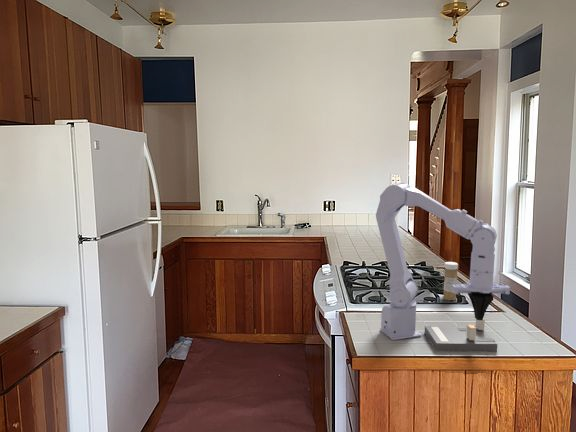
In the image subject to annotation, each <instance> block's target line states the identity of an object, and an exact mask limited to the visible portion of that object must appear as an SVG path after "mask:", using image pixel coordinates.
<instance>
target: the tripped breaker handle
mask: <svg viewBox="0 0 576 432" xmlns="http://www.w3.org/2000/svg"><path fill="white" fill-rule="evenodd" d="M466 326H467V338H468V339H469V340H475V339H476V328H475V327H474V326H475V325H474V324H466Z"/></svg>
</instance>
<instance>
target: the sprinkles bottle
mask: <svg viewBox="0 0 576 432" xmlns="http://www.w3.org/2000/svg"><path fill="white" fill-rule="evenodd" d="M458 269H459V264H458V263H457V262H455V261H445V262H444V280H443V295H442V299H444V300H445V301H450V300H453V301H456V300H457V294H454V293H453V292H452V285H458ZM455 299H456V300H455Z"/></svg>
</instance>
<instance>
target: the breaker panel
mask: <svg viewBox="0 0 576 432" xmlns="http://www.w3.org/2000/svg"><path fill="white" fill-rule="evenodd" d="M473 326H474V327H475V328H476V325H473ZM424 335H425V336H426V337H427V339H428V341H429V342H430V344H431V345H432V347H433V348H434V350H435V351H436V352H479V353H481V352H483V353H484V352H489V353H491V352H492V353H493V352H496V353H497V352H498V343H497V341H495V339H494V338H492V337H491V336H490V335H489V334H488V333H487V332H486V331H485V329H484V330H478V329H477V328H476V339H475V340H469V339H468V338H467V325H425V326H424Z"/></svg>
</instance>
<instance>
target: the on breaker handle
mask: <svg viewBox="0 0 576 432" xmlns="http://www.w3.org/2000/svg"><path fill="white" fill-rule="evenodd" d="M485 320H486V319H485V318H484V317H483V320H477V319H476V318H475V326H476V328H477V329H478V330H484V331H485V324H486V322H485Z"/></svg>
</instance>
